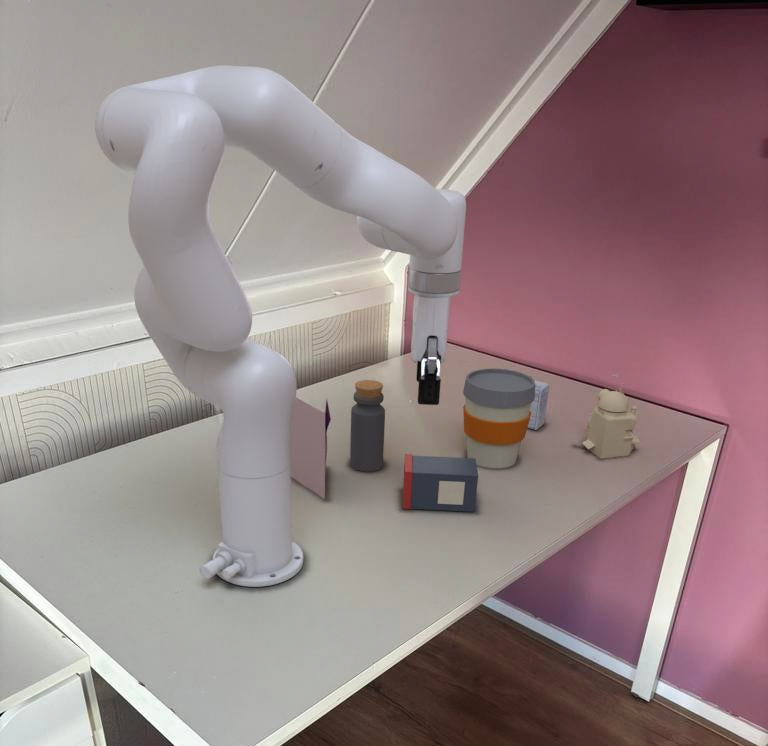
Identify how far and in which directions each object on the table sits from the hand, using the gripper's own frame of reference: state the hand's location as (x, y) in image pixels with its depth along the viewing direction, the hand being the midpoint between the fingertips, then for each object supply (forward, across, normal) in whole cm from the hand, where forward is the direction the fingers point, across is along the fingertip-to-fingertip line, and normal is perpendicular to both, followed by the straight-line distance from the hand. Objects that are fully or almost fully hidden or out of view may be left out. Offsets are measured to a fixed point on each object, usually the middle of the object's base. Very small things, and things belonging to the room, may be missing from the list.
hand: (427, 392), depth 125 cm
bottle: (+18, -10, -9) cm, 23 cm away
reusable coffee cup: (+18, -15, +13) cm, 27 cm away
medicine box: (+18, -33, +21) cm, 43 cm away
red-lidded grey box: (+18, +3, +3) cm, 18 cm away
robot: (+18, -22, +36) cm, 46 cm away
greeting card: (+18, -2, -19) cm, 26 cm away
